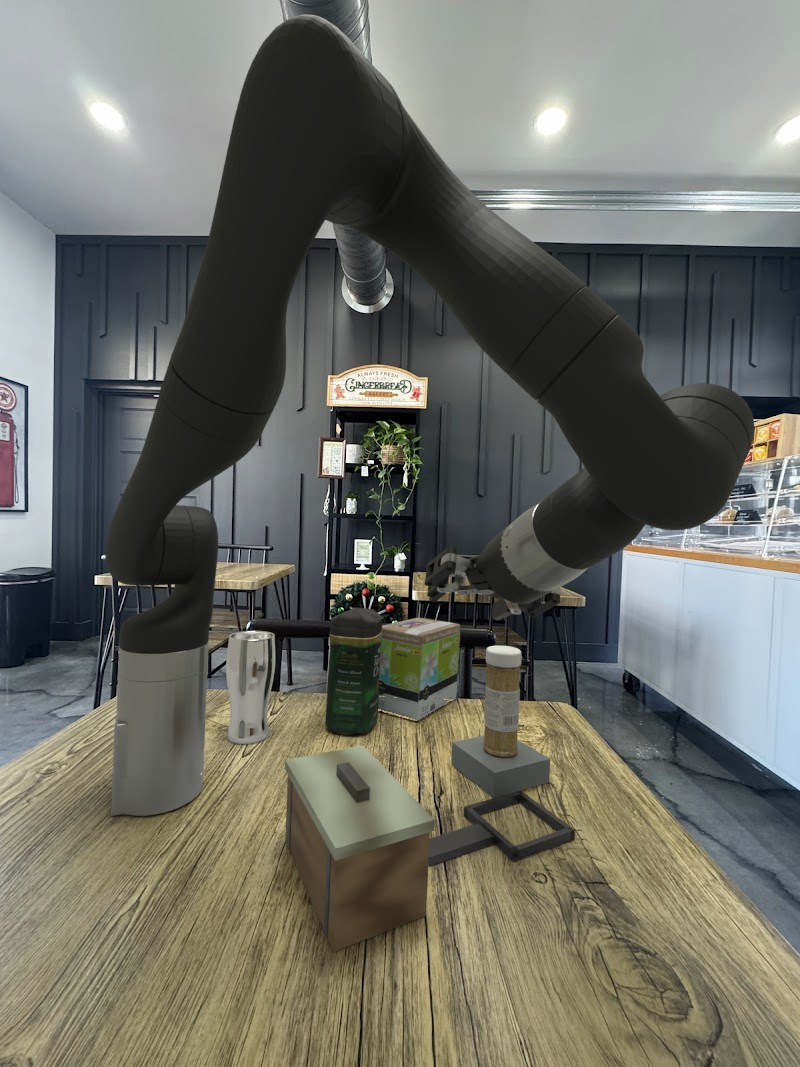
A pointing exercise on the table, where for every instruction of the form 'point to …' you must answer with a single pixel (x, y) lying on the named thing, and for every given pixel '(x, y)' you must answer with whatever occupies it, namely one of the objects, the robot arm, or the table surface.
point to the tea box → (418, 666)
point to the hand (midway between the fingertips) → (464, 603)
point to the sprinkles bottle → (502, 700)
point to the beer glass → (249, 684)
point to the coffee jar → (354, 671)
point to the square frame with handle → (487, 835)
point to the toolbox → (357, 844)
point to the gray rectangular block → (500, 767)
